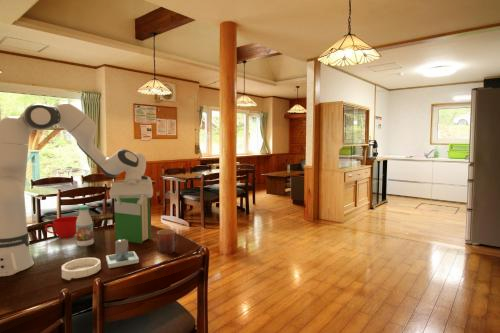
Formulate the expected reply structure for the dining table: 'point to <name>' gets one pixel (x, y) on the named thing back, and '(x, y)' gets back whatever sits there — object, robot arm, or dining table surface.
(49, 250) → the dining table surface
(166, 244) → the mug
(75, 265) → the bowl
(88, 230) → the milk bottle
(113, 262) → the parts tray
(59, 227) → the ceramic cup
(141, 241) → the hardback book
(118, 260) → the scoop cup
